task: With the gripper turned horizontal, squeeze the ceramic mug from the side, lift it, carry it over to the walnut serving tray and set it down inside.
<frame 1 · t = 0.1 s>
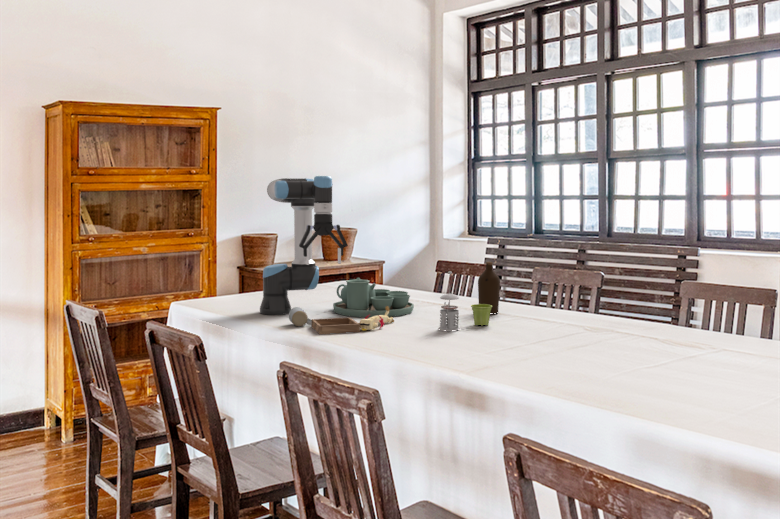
hand: (323, 264, 288), 28 cm above the table, tool pointing down, fingers open, 13 cm apart
ceramic mug: (301, 325, 301), on the table
tea set: (373, 311, 340), on the table
tray: (335, 329, 291), on the table
olive oil: (488, 313, 334), on the table
cat figure: (376, 327, 298), on the table
plant pot: (481, 325, 303), on the table
french press: (448, 330, 292), on the table
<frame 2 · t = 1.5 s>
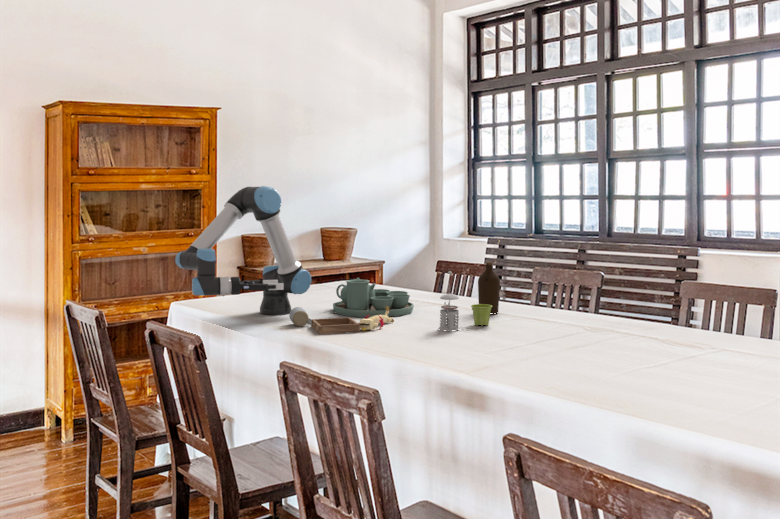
hand: (280, 284, 296), 18 cm above the table, tool horizontal, fingers open, 13 cm apart
nothing on the table moved.
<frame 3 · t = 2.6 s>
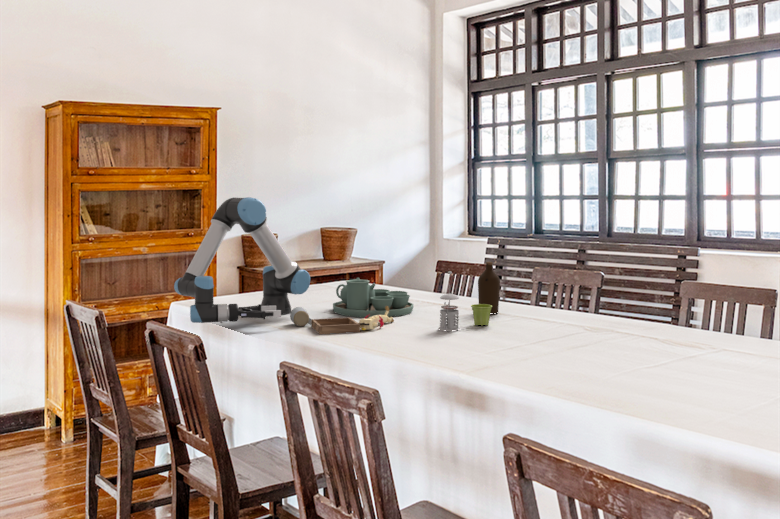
hand: (278, 311, 297), 7 cm above the table, tool horizontal, fingers open, 13 cm apart
nothing on the table moved.
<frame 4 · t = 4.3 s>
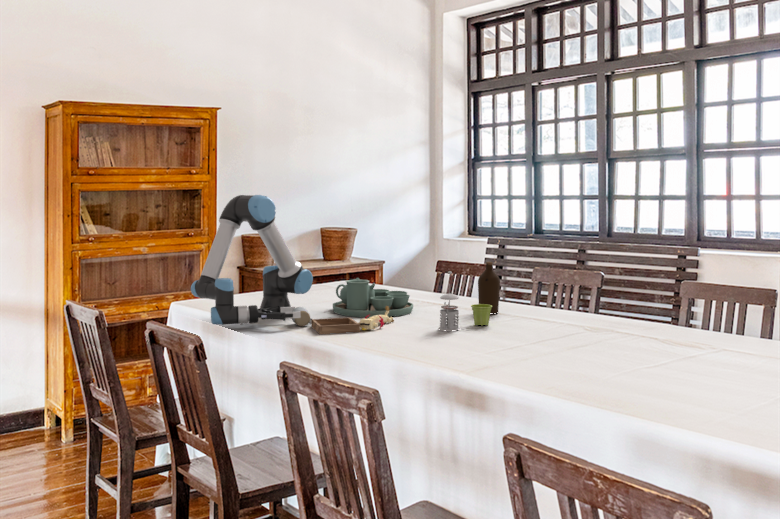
hand: (297, 312, 299), 6 cm above the table, tool horizontal, fingers open, 13 cm apart
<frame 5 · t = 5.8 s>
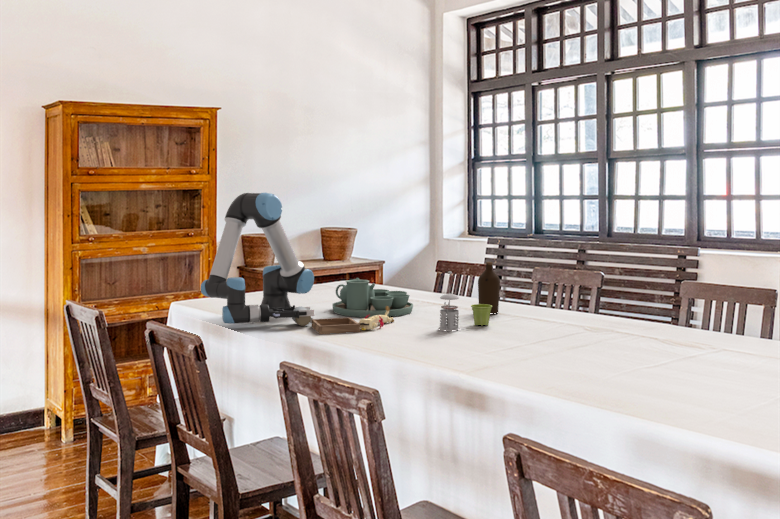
hand: (311, 311, 301), 6 cm above the table, tool horizontal, fingers closed on ceramic mug, 8 cm apart
ceramic mug: (304, 325, 302), on the table, touching gripper
everything else where it was.
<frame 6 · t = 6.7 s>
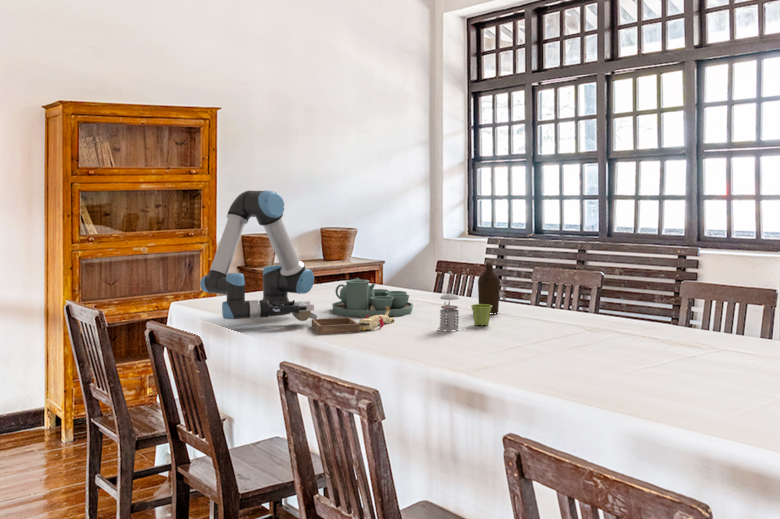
hand: (311, 305, 301), 8 cm above the table, tool horizontal, fingers closed on ceramic mug, 8 cm apart
ceramic mug: (304, 320, 301), point 2 cm above the table, touching gripper
everything else where it was.
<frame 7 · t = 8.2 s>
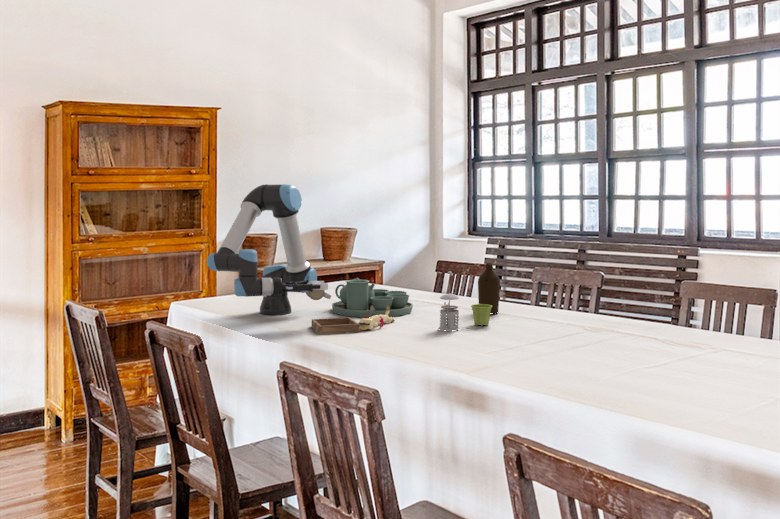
hand: (325, 285, 294), 18 cm above the table, tool horizontal, fingers closed on ceramic mug, 8 cm apart
ceramic mug: (318, 299, 294), point 12 cm above the table, touching gripper
everything else where it was.
when the fingers open (8 cm above the table, at t = 11.0 s): ceramic mug drops 2 cm, resting on tray.
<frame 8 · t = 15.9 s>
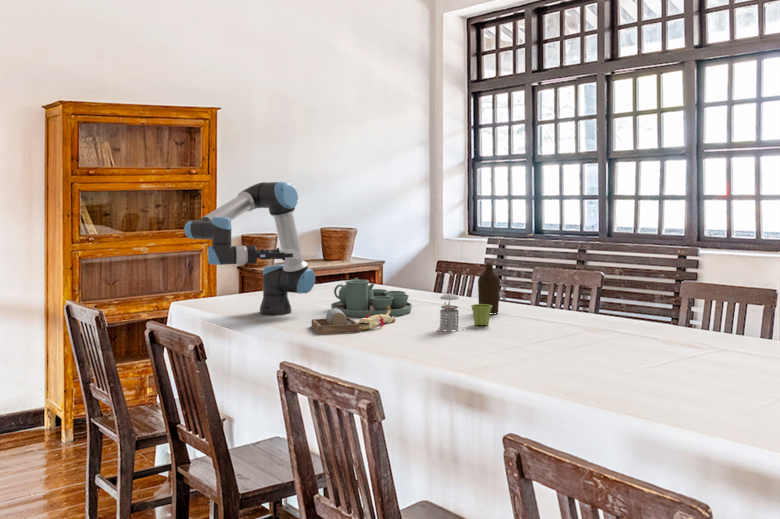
hand: (297, 253, 289), 32 cm above the table, tool horizontal, fingers open, 13 cm apart
ceramic mug: (339, 327, 292), point 1 cm above the table, touching tray
at the end: ceramic mug inside the target area on the tray (2.0 cm from its centre), point 0.6 cm above the tray's base; ceramic mug tilted 1°; the gripper is holding nothing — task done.
